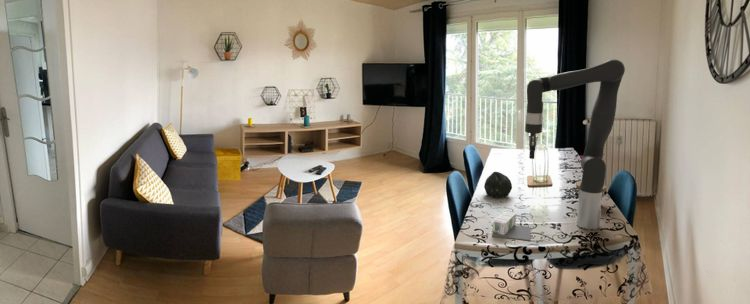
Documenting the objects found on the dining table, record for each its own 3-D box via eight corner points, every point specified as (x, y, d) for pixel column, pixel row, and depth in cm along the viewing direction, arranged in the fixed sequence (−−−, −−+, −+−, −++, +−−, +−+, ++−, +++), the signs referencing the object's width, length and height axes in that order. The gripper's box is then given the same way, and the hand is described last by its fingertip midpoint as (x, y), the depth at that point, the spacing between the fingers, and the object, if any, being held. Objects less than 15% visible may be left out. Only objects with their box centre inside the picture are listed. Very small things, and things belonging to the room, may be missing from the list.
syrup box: (504, 210, 219) (492, 220, 208) (516, 213, 215) (505, 223, 204) (503, 222, 220) (491, 232, 209) (516, 225, 217) (504, 235, 205)
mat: (530, 227, 214) (530, 226, 214) (530, 240, 201) (530, 239, 200) (494, 224, 219) (494, 223, 219) (492, 236, 205) (492, 235, 205)
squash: (515, 183, 262) (498, 163, 261) (518, 192, 248) (499, 171, 247) (495, 198, 267) (477, 178, 266) (496, 208, 253) (478, 187, 252)
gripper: (542, 125, 211) (540, 162, 215) (542, 120, 223) (539, 155, 227) (525, 124, 213) (523, 161, 217) (525, 119, 225) (523, 154, 229)
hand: (531, 158), depth 222 cm, fingers closed
